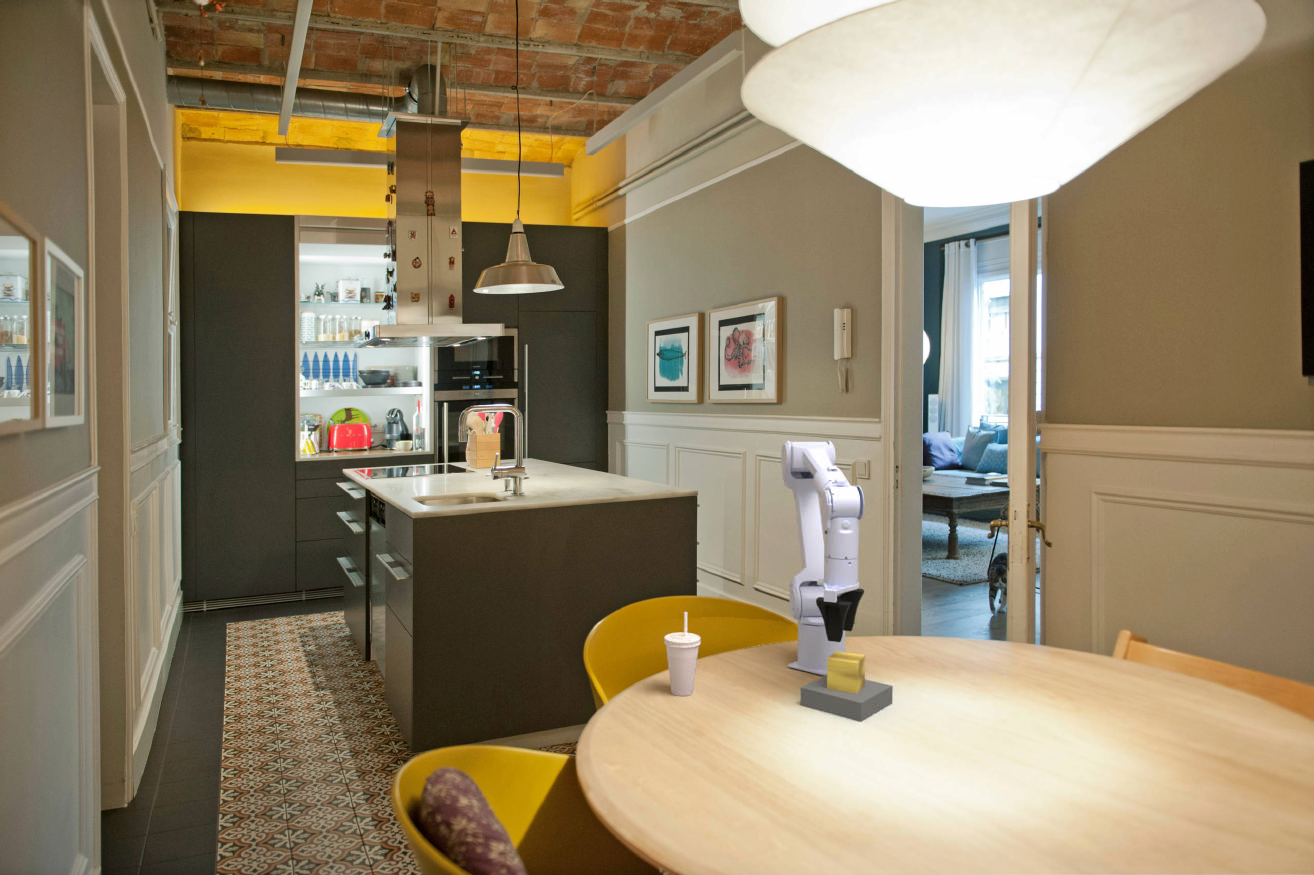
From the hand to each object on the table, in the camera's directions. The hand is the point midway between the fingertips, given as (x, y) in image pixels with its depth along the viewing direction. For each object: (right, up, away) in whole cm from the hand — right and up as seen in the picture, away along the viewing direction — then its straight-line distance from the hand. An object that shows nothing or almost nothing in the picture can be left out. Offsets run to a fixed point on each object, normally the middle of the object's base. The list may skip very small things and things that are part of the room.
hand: (840, 635), depth 143 cm
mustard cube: (0, -8, -4) cm, 9 cm away
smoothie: (-27, -10, +2) cm, 29 cm away
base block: (0, -11, -4) cm, 12 cm away
